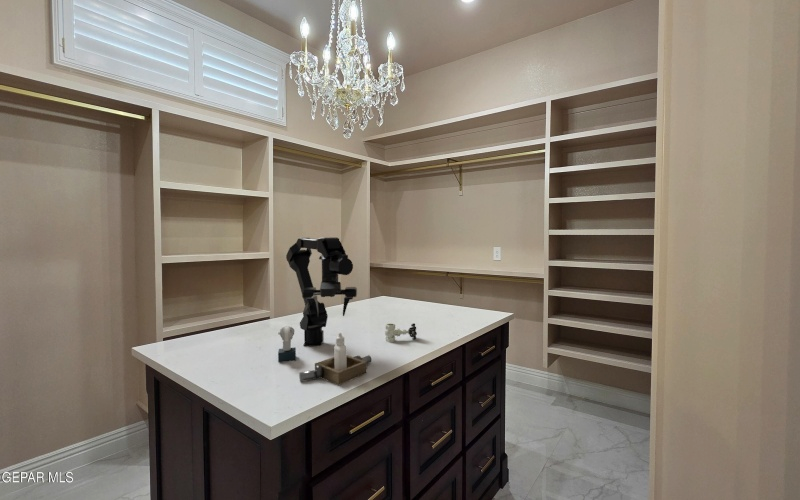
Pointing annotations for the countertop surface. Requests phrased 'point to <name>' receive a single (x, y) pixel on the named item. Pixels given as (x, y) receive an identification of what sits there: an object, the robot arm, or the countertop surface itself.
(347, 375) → the square brown wooden tray
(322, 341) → the robot arm
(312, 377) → the output shaft
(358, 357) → the input shaft
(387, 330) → the valve
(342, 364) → the white bottle
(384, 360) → the countertop surface
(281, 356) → the rubber stamp
